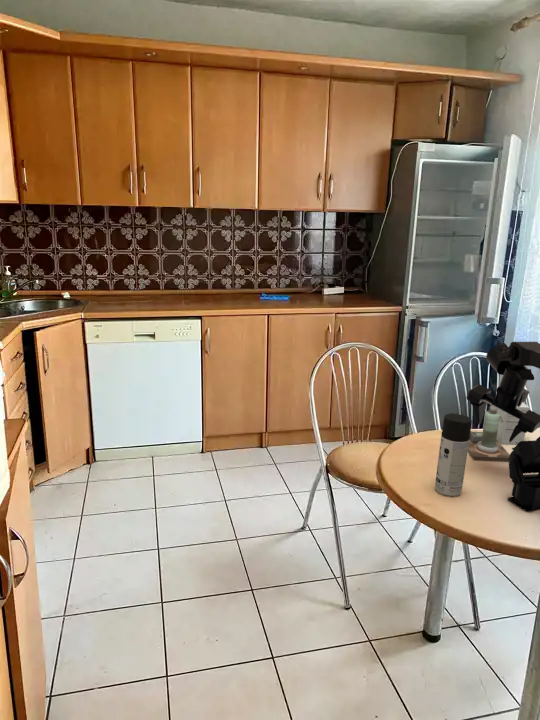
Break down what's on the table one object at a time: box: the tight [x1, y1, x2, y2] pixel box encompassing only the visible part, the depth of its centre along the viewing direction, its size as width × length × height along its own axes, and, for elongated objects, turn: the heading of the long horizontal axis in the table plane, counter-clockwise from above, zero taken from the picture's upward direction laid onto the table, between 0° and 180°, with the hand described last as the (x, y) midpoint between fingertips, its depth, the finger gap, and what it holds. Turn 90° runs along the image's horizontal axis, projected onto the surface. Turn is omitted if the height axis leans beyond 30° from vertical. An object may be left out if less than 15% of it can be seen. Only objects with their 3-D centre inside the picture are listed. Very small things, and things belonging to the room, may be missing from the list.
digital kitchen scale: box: [467, 430, 511, 463], centre depth 166 cm, size 14×11×4 cm
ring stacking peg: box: [477, 405, 500, 454], centre depth 162 cm, size 6×6×14 cm
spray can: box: [434, 413, 473, 498], centre depth 139 cm, size 7×7×20 cm
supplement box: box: [497, 402, 530, 446], centre depth 173 cm, size 7×7×13 cm
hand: (494, 432), depth 150 cm, fingers open, 9 cm apart
